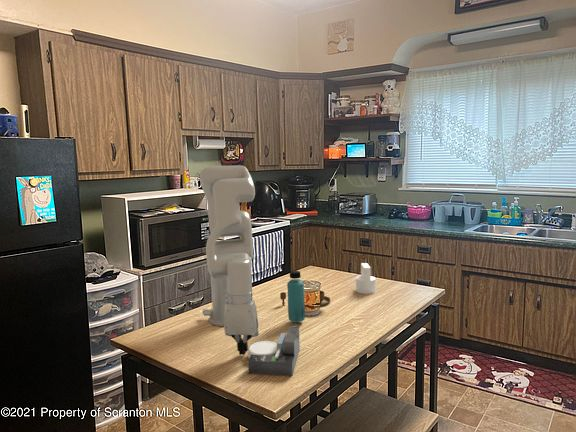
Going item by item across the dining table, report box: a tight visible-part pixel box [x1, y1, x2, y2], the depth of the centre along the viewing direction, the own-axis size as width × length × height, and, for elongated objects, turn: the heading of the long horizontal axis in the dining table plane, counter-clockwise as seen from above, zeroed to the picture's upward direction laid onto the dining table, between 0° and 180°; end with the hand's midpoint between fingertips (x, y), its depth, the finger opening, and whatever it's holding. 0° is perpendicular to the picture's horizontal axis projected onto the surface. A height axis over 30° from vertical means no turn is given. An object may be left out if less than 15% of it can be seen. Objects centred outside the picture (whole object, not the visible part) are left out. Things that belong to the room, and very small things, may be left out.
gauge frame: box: [247, 325, 301, 377], centre depth 134 cm, size 13×17×8 cm
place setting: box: [279, 290, 331, 308], centre depth 188 cm, size 18×20×6 cm
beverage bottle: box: [286, 270, 306, 323], centre depth 164 cm, size 6×7×20 cm
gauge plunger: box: [275, 332, 287, 358], centre depth 133 cm, size 2×14×6 cm, turn 171°
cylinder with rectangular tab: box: [355, 262, 377, 295], centre depth 200 cm, size 9×9×12 cm
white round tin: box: [247, 340, 277, 359], centre depth 137 cm, size 10×10×4 cm
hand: (242, 352), depth 138 cm, fingers closed
